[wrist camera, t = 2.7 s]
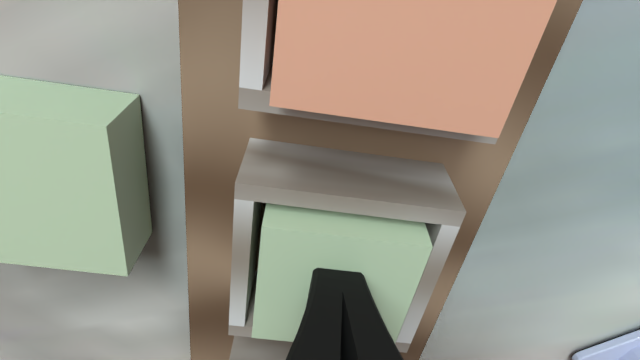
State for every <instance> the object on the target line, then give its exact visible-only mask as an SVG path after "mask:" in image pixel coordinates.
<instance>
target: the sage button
mask: <svg viewBox="0 0 640 360" xmlns="http://www.w3.org/2000/svg"><path fill="white" fill-rule="evenodd" d="M432 248H433V246H432V243H431V240H430V237H429V234H428V231H427V228H426V225H425V223H424V222H416V221H408V220H400V219H392V218H384V217H375V216H367V215H359V214H351V213H343V212H335V211H327V210H319V209H311V208H303V207H295V206H286V205H278V204H270V203H266V207H265V212H264V217H263V222H262V228H261V239H260V250H259V261H258V272H257V283H256V294H255V305H254V316H253V327H252V337H251V338H258V339H269V340H279V341H289V342H293V341H294V339H295V336H296V334H297V332H298V329H299V326H300V323H301V320H302V318H303V315H304V312H305V309H306V304H307V299H308V294H309V288H310V283H311V278H312V273H313V270H314V269H316V268H325V269H334V270H343V271H352V272H361V273H362V274H363V275H364V277H365V279H366V282H367V285H368V287H369V290H370V292H371V295H372V297H373V299H374V302H375V304H376V306H377V308H378V310H379V313H380V315H381V317H382V319H383V321H384V323H385V325H386V327H387V329H388V331H389V333H390V335H391V337H392V339H393V341H394V343H396V340H397V337H398V335H399V332H400V330H401V327H402V325H403V322H404V320H405V317H406V314H407V312H408V309H409V307H410V304H411V302H412V299H413V297H414V294H415V292H416V289H417V286H418V284H419V281H420V279H421V276H422V274H423V271H424V269H425V266H426V263H427V261H428V258H429V256H430V253H431V251H432Z"/></svg>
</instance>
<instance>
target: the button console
mask: <svg viewBox="0 0 640 360" xmlns="http://www.w3.org/2000/svg"><path fill="white" fill-rule="evenodd" d="M582 1H583V0H557V2H556V4H555V7H554V9H553V12H552V14H551V16H550V19H549V21H548V23H547V26H546V28H545V30H544V33H543V35H542V37H541V40H540V42H539V44H538V47H537V49H536V51H535V54H534V56H533V59H532V61H531V63H530V66H529V68H528V70H527V73H526V75H525V77H524V80H523V82H522V84H521V87H520V89H519V91H518V94H517V96H516V98H515V101H514V103H513V106H512V108H511V110H510V113H509V115H508V117H507V120H506V122H505V124H504V127H503V129H502V131H501V134H500V136H499V138H493V137H486V136H478V135H471V134H464V133H457V132H450V131H443V130H436V129H429V128H422V127H415V126H407V125H400V124H393V123H386V122H379V121H372V120H365V119H358V118H351V117H343V116H336V115H329V114H322V113H315V112H308V111H301V110H294V109H287V108H280V107H272V106H269V103H270V91H271V80H272V68H273V57H274V45H275V34H276V22H277V10H278V0H178V9H179V37H180V66H181V94H182V123H183V151H184V179H185V208H186V236H187V265H188V293H189V322H190V350H191V360H286V357H287V355H288V353H289V350H290V348H291V346H292V343H293V342H289V341H279V340H269V339H258V338H251V337H252V327H253V316H254V305H255V294H256V283H257V272H258V261H259V250H260V239H261V228H262V222H263V217H264V212H265V207H266V203H270V204H278V205H286V206H295V207H303V208H311V209H319V210H327V211H335V212H343V213H351V214H359V215H367V216H375V217H384V218H392V219H400V220H408V221H416V222H424V223H425V225H426V228H427V231H428V234H429V237H430V240H431V243H432V246H433V248H432V251H431V253H430V256H429V258H428V261H427V263H426V266H425V269H424V271H423V274H422V276H421V279H420V281H419V284H418V286H417V289H416V292H415V294H414V297H413V299H412V302H411V304H410V307H409V309H408V312H407V314H406V317H405V320H404V322H403V325H402V327H401V330H400V332H399V335H398V337H397V340H396V343H395V345H396V347H397V348H398V350H399V352H400V354H401V356H402V358H403V359H404V360H419V358H420V356H421V354H422V351H423V349H424V347H425V345H426V343H427V341H428V338H429V336H430V334H431V332H432V330H433V327H434V325H435V323H436V321H437V319H438V316H439V314H440V312H441V310H442V308H443V305H444V303H445V301H446V299H447V297H448V295H449V292H450V290H451V288H452V286H453V284H454V281H455V279H456V277H457V275H458V273H459V270H460V268H461V266H462V264H463V262H464V260H465V257H466V255H467V253H468V251H469V249H470V246H471V244H472V242H473V240H474V238H475V235H476V233H477V231H478V229H479V227H480V224H481V222H482V220H483V218H484V216H485V214H486V211H487V209H488V207H489V205H490V203H491V200H492V198H493V196H494V194H495V192H496V189H497V187H498V185H499V183H500V181H501V179H502V176H503V174H504V172H505V170H506V168H507V165H508V163H509V161H510V159H511V157H512V154H513V152H514V150H515V148H516V146H517V143H518V141H519V139H520V137H521V135H522V133H523V130H524V128H525V126H526V124H527V122H528V119H529V117H530V115H531V113H532V111H533V108H534V106H535V104H536V102H537V100H538V98H539V95H540V93H541V91H542V89H543V87H544V84H545V82H546V80H547V78H548V76H549V73H550V71H551V69H552V67H553V65H554V62H555V60H556V58H557V56H558V54H559V52H560V49H561V47H562V45H563V43H564V41H565V38H566V36H567V34H568V32H569V30H570V27H571V25H572V23H573V21H574V19H575V16H576V14H577V12H578V10H579V8H580V6H581V3H582Z"/></svg>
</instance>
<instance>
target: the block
mask: <svg viewBox="0 0 640 360" xmlns="http://www.w3.org/2000/svg"><path fill="white" fill-rule="evenodd" d="M151 233H152V224H151V213H150V202H149V191H148V180H147V170H146V159H145V148H144V137H143V127H142V116H141V105H140V95H138V94H131V93H124V92H117V91H110V90H102V89H95V88H88V87H81V86H74V85H67V84H60V83H52V82H45V81H38V80H31V79H24V78H17V77H9V76H2V75H0V263H8V264H17V265H26V266H35V267H45V268H54V269H63V270H72V271H82V272H91V273H100V274H109V275H119V276H128V275H129V274H130V272H131V270H132V268H133V266H134V264H135V263H136V261H137V259H138V257H139V255H140V254H141V252H142V250H143V248H144V246H145V244H146V243H147V241H148V239H149V237H150V235H151Z"/></svg>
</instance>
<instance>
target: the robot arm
mask: <svg viewBox="0 0 640 360" xmlns="http://www.w3.org/2000/svg"><path fill="white" fill-rule="evenodd" d="M286 360H404V359H403V358H402V356H401V354H400V352H399V350H398V348H397V347H396V345H395V343H394V341H393V339H392V337H391V335H390V333H389V331H388V329H387V327H386V325H385V323H384V321H383V319H382V317H381V315H380V313H379V310H378V308H377V306H376V304H375V302H374V299H373V297H372V295H371V292H370V290H369V287H368V285H367V282H366V279H365V277H364V275H363V274H362V273H361V272H352V271H343V270H334V269H325V268H316V269H314V270H313V273H312V278H311V283H310V288H309V294H308V299H307V304H306V309H305V312H304V315H303V318H302V320H301V323H300V326H299V329H298V332H297V334H296V336H295V339H294V341H293V343H292V346H291V348H290V350H289V353H288V355H287V357H286ZM572 360H640V330H637V331H634V332H632V333H629V334H626V335H623V336H620V337H618V338H615V339H612V340H609V341H607V342H604V343H601V344H598V345H595V346H593V347H590V348H587V349H584V350H582V351H579V352H577V353H575V354H574V355H573V357H572Z"/></svg>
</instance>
